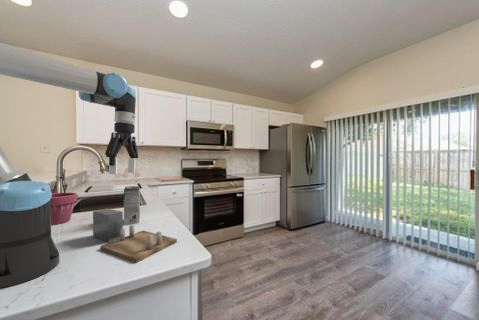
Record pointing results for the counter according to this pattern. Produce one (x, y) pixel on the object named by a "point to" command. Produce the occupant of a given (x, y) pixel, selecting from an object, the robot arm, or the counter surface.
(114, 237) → the grey square block
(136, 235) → the pin tray
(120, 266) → the counter surface
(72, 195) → the plant pot
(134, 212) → the coffee box
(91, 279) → the counter surface
